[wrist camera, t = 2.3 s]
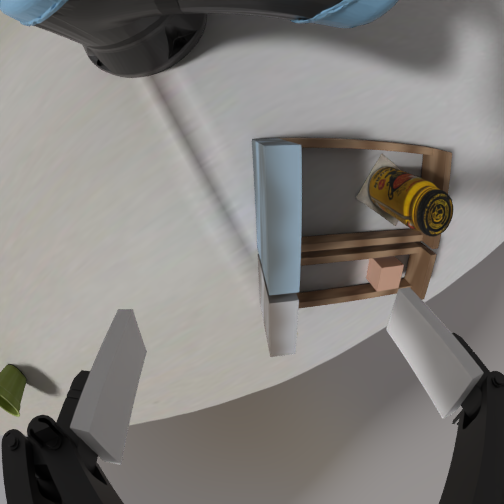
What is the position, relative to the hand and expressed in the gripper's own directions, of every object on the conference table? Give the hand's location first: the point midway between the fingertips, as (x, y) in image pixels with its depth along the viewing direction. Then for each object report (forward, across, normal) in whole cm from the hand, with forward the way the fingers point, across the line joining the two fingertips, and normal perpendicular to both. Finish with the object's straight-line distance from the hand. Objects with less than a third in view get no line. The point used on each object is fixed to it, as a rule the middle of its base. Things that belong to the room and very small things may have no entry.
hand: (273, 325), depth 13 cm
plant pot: (+25, -63, -40) cm, 79 cm away
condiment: (+24, +20, +1) cm, 31 cm away
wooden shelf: (+23, +14, +1) cm, 27 cm away
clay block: (+24, +21, -11) cm, 34 cm away
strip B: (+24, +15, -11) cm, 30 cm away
